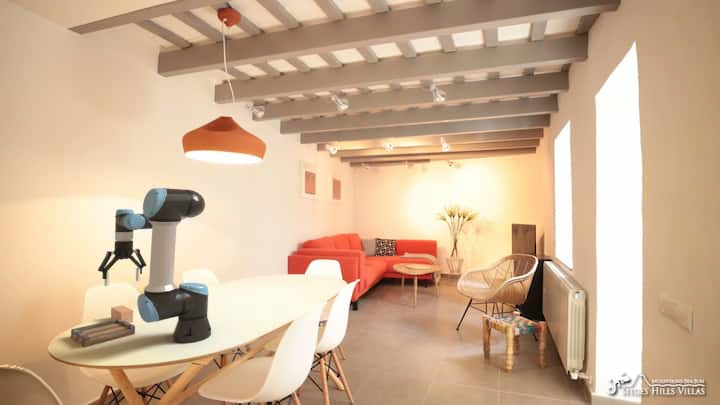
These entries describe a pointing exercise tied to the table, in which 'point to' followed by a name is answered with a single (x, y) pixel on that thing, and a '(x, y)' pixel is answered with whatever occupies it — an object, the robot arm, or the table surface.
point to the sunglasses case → (122, 313)
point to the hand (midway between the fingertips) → (122, 283)
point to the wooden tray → (102, 332)
